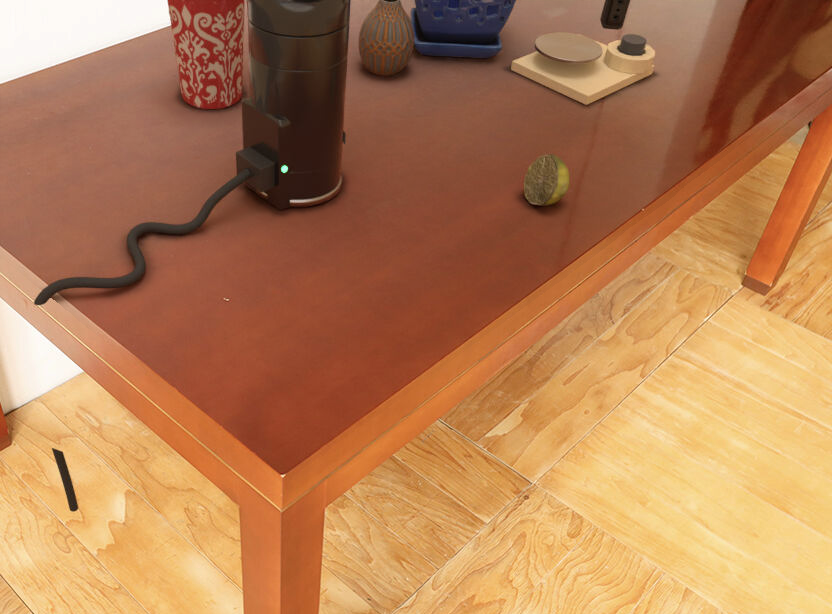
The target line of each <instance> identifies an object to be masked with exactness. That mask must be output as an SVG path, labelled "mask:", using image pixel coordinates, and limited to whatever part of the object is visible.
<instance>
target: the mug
mask: <svg viewBox="0 0 832 614" xmlns="http://www.w3.org/2000/svg"><path fill="white" fill-rule="evenodd" d="M245 4H246V3H245V0H167V7H168V14H169V18H170V19H169V20H170V28H171V34H172V39H173V40H172V41H173V47H174V55H175V59H176V66H177V72H178V73H177V74H178V80H179V86H180V93H181V97H182V99H183V100H184V102H185V103H187V104H188V105H190V106H192V107H195V108H198V109H203V110H218V109H224V108H228V107H231V106H233V105H235V104H236V103H238V102H239V101H241V98H242V96H243V88H244V87H243V85H244V83H243V82H244V79H243V77H244V72H243V71H244V38H245V37H244V35H245V7H246V6H245Z"/></svg>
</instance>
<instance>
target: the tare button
mask: <svg viewBox="0 0 832 614" xmlns="http://www.w3.org/2000/svg"><path fill="white" fill-rule="evenodd" d="M620 40H621V43H620V47H619V52H621V53H623V54H625V55H630V56H641V55H643V51H644V48H645V45H647V39H646V37H644V36H642V35H639V34H635V33H627V34H624V35H622V36H621V39H620Z"/></svg>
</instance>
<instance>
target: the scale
mask: <svg viewBox="0 0 832 614" xmlns="http://www.w3.org/2000/svg"><path fill="white" fill-rule="evenodd" d="M578 35H582V36H584V35H583V34H581V33H578ZM593 40H594V41H596V42H597V43H598V44H600V46H601V47H602V50H603V51H602V55H601V57H600V58H599V59H598V60H596V61H593V62H589V63H582V64H572V63H564V62H559V61H555V60H552V59H549V58H547V57H545V56H543V55H541V54H540V53H539V52H538V51H537V50H536V51H534V52H531V53H529V54H527V55H523V56H521V57H519V58H516V59H514V60H512V62H511V66H510V71H512V72H515V73H516V74H518V75H521V76H523V77H525V78H527V79H530V80H532V81H533V82H536V83H538V84H540V85H542V86H545V87H546V88H549V89H551V90H553V91H555V92H557V93H559V94H562V95H563V96H566V97H568V98H570V99H572V100H573V101H577V102H578V103H581V104H583V105H585V106H587V105H590V104H592V103H594V102H596V101H598V100H600V99H602V98H604V97H607V96H608V95H610V94H613V93H615V92H616V91H617V92H618V91H619V90H622V89H624V88H626V87H628V86H629V85H632V84H634V83H636V82H638V81H641V80H642V79H644V78H646V77H649V76H651V75H652V74H653V72H654V68H655V66H656V65H654V64H653V63H654V60H655V56H656V50H655V49H653V47H652V46H650V45H649V44H646V45H645V48H644V51H643V55H641V56H630V55H625V54H623V53H621V52H619V47H620V43H621V40H622V39H616V40H613V41H611V42H609V43H607V44H604V43H602V42H599V41H597V40H595V39H593Z"/></svg>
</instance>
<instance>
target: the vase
mask: <svg viewBox="0 0 832 614" xmlns="http://www.w3.org/2000/svg"><path fill="white" fill-rule="evenodd" d="M414 48H415V45H414V30H413V26H412V23H411V17H409V15H408V13H407V12H406V10H405V9H404V6H403V4H402V1H401V0H378V2H377V3H376V5H375V6H374V7H373V8H372V10H371V11H370V12H369V13H368V14H367V15H366V17H365V18H364V20H363V22H362V24H361V26H360V29H359V34H358V52H359V57H360V59H361V62H362V64H363V65H364V67H365V68H366V69H367V70H368V71H369V72H370V73H372V74H374V75H377V76H381V77H382V76H384V77H388V76H394V75H397V74H398V73H400V72H401V71H403V69H405V68H406V66H407V65H408V64H409V62H410V59H411V57H412V54H413V51H414Z"/></svg>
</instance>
